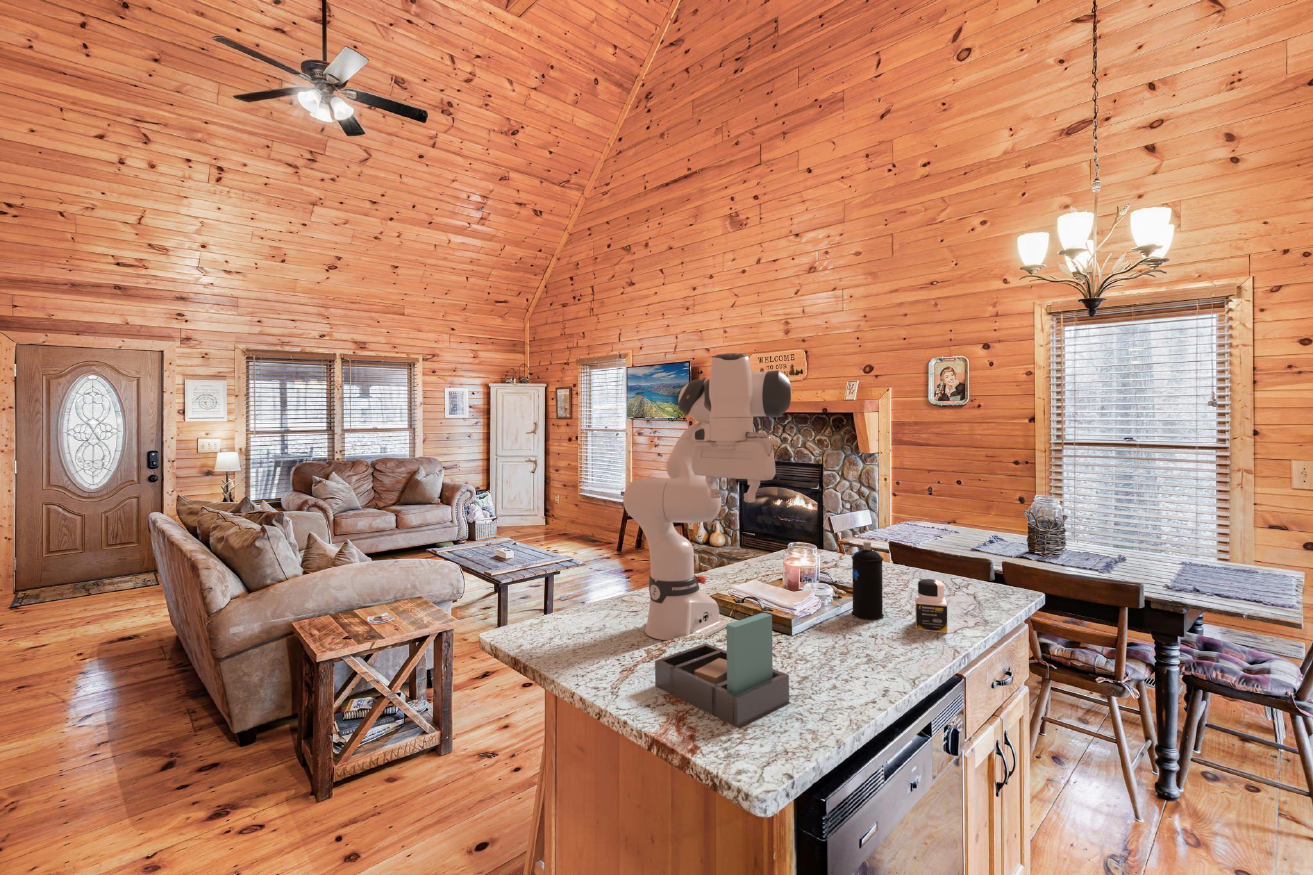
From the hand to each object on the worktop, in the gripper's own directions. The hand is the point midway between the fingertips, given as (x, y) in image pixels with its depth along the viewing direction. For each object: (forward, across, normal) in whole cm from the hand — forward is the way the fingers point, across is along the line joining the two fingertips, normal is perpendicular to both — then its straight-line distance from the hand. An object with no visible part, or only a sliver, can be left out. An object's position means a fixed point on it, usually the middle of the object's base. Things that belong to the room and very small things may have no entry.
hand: (732, 500), depth 122 cm
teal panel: (+36, -12, +9) cm, 39 cm away
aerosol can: (+37, +4, -58) cm, 69 cm away
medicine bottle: (+37, -12, -61) cm, 73 cm away
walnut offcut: (+33, -4, +9) cm, 35 cm away
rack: (+37, -6, +9) cm, 39 cm away
